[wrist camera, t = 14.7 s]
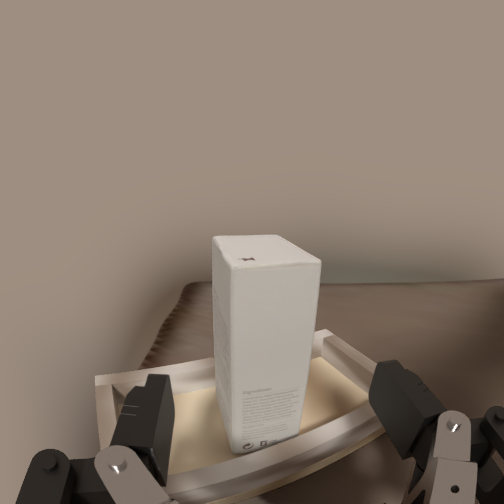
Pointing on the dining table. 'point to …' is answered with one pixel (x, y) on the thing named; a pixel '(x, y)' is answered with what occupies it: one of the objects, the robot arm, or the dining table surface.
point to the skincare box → (262, 336)
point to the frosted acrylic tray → (263, 461)
